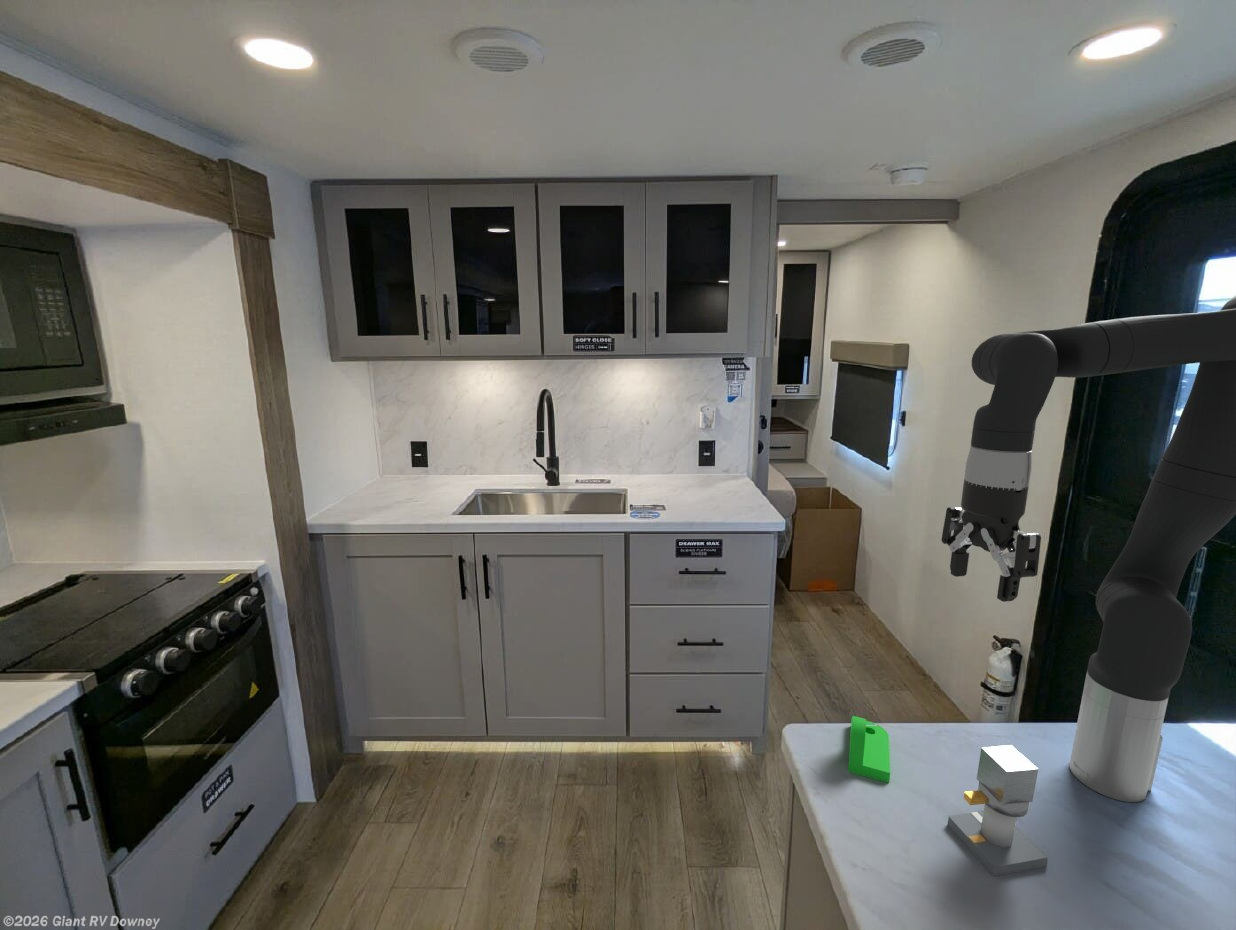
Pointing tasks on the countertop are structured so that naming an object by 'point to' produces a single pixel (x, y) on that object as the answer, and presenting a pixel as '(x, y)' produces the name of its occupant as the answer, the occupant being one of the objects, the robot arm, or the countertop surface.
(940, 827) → the countertop surface
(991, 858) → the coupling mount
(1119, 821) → the countertop surface
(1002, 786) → the collar
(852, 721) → the mechanical part
